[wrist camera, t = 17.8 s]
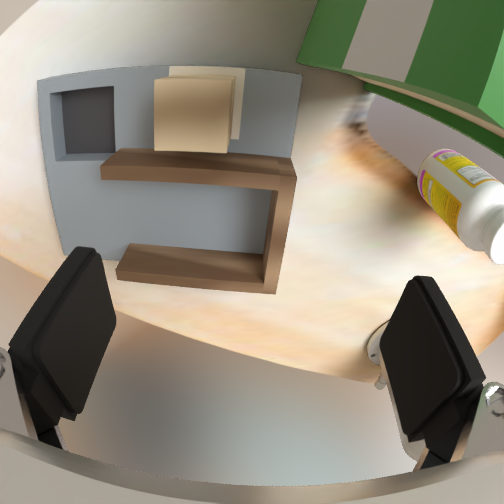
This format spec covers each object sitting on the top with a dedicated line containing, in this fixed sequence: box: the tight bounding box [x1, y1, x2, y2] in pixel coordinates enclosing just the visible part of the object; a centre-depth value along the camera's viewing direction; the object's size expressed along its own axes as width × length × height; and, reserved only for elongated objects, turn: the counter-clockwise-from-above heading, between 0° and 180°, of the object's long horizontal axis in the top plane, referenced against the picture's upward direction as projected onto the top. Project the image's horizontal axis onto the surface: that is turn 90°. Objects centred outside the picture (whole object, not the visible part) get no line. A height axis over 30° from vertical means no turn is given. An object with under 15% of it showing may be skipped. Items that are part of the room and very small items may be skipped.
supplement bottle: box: [417, 149, 504, 264], centre depth 24 cm, size 7×7×13 cm
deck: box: [37, 65, 303, 261], centre depth 28 cm, size 20×24×3 cm
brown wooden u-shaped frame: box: [100, 148, 297, 294], centre depth 27 cm, size 11×15×4 cm
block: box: [154, 75, 236, 153], centre depth 21 cm, size 5×5×5 cm
